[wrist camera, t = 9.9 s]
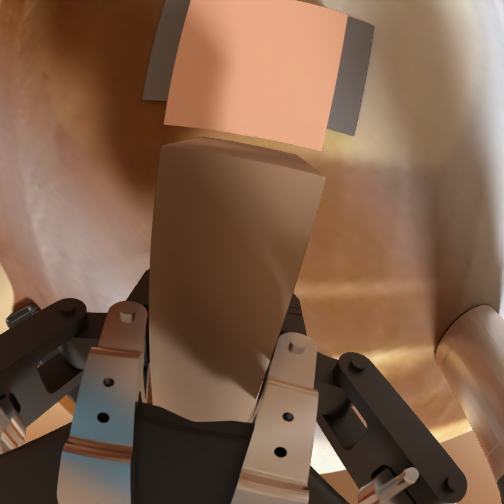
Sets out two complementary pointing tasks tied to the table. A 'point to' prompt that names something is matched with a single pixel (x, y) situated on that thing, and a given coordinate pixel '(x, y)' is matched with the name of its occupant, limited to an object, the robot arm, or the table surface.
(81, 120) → the table surface
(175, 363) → the bar
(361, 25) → the mat
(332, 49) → the tile
